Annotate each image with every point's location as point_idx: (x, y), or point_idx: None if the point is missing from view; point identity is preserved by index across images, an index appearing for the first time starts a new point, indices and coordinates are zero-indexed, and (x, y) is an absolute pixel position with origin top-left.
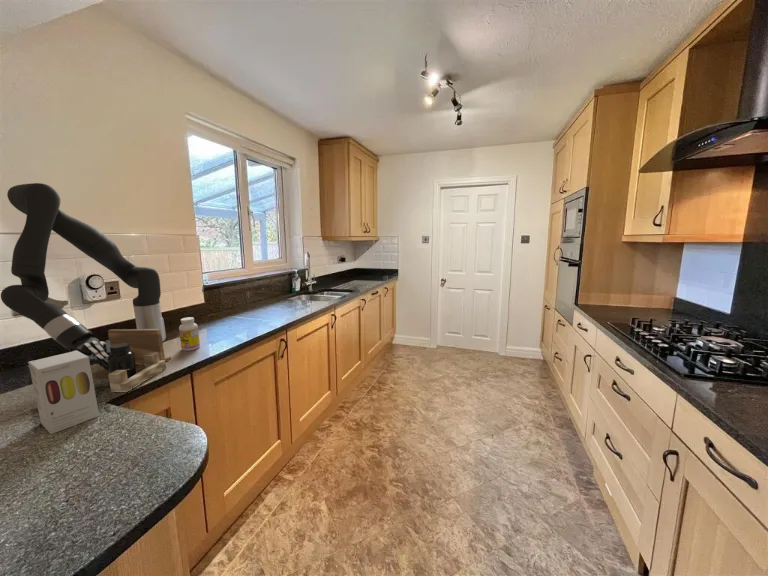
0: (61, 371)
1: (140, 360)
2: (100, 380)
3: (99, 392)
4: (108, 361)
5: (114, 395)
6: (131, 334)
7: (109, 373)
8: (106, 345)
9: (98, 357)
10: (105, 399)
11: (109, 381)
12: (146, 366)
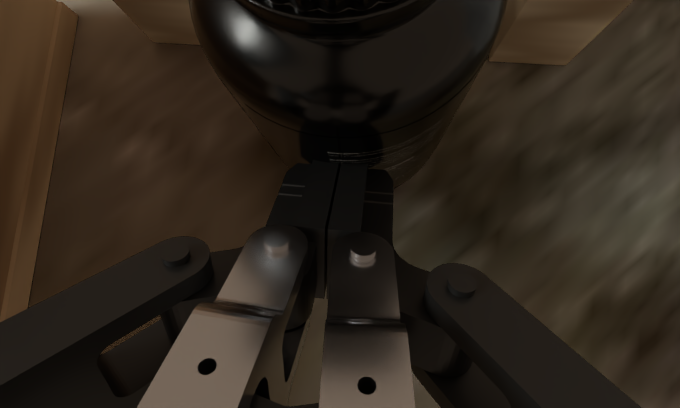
0: None
1: (12, 189)
2: None
3: (553, 162)
4: (480, 68)
5: None
6: None
7: (427, 152)
8: (7, 377)
9: (393, 274)
10: (662, 36)
11: (621, 10)
12: None
